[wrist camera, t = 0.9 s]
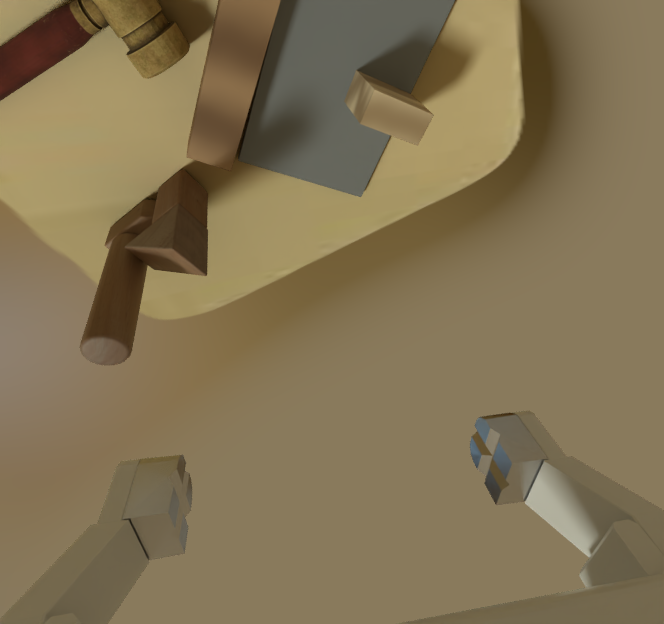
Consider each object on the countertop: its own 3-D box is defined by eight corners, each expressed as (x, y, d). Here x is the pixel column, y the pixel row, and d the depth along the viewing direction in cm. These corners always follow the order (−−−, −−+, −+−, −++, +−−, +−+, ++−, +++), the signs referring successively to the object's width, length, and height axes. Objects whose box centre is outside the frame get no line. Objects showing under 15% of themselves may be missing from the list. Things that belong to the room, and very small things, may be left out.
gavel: (-13, 180, 35) (-157, 62, 28) (8, 156, 38) (-116, 45, 31) (188, 57, 31) (77, -118, 24) (193, 41, 34) (97, -117, 27)
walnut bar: (248, -139, 28) (252, -145, 25) (301, -104, 29) (311, -105, 27) (188, 140, 39) (186, 157, 36) (229, 153, 41) (230, 171, 38)
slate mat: (305, -103, 29) (307, -104, 29) (456, -12, 35) (460, -11, 34) (238, 157, 41) (238, 160, 40) (359, 193, 47) (360, 197, 46)
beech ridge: (356, 70, 37) (374, 89, 33) (410, 93, 39) (434, 114, 35) (344, 101, 39) (360, 123, 34) (396, 122, 41) (417, 145, 37)
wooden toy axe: (209, 192, 43) (208, 307, 30) (138, 248, 46) (109, 374, 33) (182, 166, 40) (168, 278, 28) (108, 226, 43) (66, 354, 31)
